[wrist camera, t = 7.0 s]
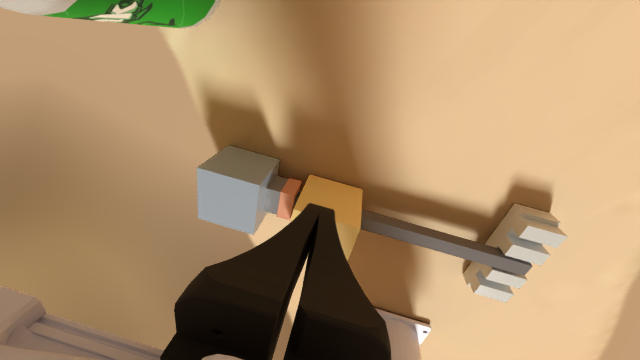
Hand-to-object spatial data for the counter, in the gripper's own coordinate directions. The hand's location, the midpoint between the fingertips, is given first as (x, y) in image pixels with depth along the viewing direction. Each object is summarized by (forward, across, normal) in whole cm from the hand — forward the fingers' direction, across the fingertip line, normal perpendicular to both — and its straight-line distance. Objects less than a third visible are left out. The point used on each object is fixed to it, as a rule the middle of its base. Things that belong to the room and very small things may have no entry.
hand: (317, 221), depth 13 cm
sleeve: (+10, 0, +5) cm, 12 cm away
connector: (+10, +8, +5) cm, 14 cm away
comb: (+10, -17, +5) cm, 21 cm away
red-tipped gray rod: (+10, -7, +5) cm, 13 cm away
